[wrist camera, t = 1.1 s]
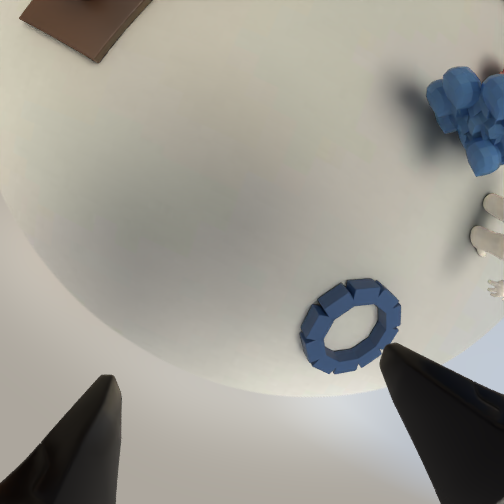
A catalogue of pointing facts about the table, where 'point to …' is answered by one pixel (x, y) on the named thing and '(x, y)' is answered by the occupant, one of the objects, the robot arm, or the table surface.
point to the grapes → (472, 115)
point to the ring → (337, 305)
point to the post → (84, 22)
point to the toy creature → (491, 238)
